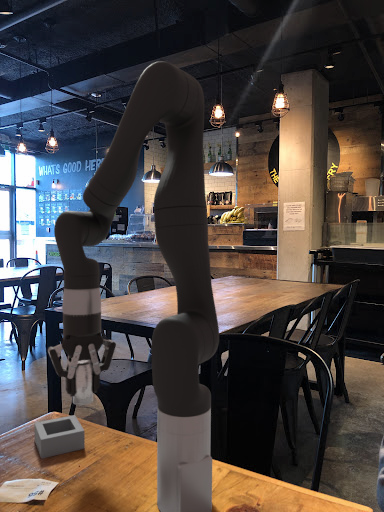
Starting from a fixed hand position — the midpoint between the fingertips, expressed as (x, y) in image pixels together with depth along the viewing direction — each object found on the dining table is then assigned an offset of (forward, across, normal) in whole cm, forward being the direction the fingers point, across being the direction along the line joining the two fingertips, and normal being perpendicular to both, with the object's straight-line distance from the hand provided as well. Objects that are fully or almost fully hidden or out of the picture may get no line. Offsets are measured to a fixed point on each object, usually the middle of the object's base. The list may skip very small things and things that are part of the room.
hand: (83, 392), depth 87 cm
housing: (+14, -3, +9) cm, 17 cm away
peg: (+2, 0, 0) cm, 2 cm away
